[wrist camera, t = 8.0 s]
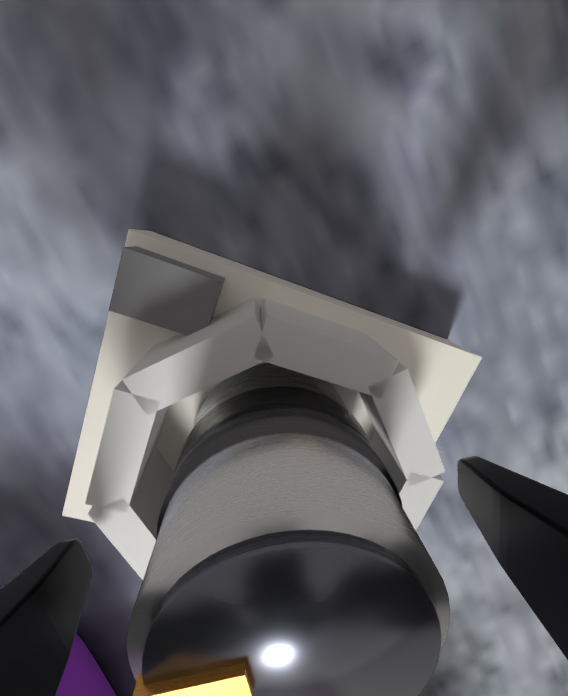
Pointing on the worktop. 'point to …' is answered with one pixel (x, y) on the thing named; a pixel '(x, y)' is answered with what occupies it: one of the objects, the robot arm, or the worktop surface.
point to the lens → (284, 557)
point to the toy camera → (83, 674)
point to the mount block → (232, 358)
